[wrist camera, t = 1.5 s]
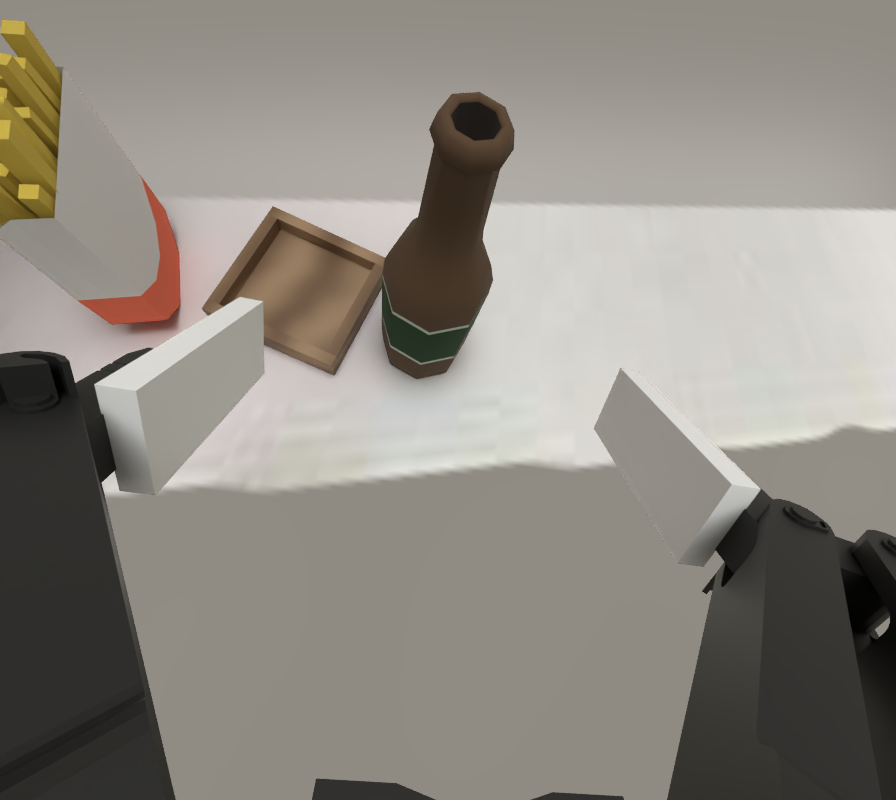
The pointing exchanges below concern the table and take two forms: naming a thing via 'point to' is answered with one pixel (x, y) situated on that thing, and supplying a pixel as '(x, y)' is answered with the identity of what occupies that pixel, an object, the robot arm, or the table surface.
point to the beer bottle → (446, 239)
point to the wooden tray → (304, 288)
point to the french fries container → (78, 194)
